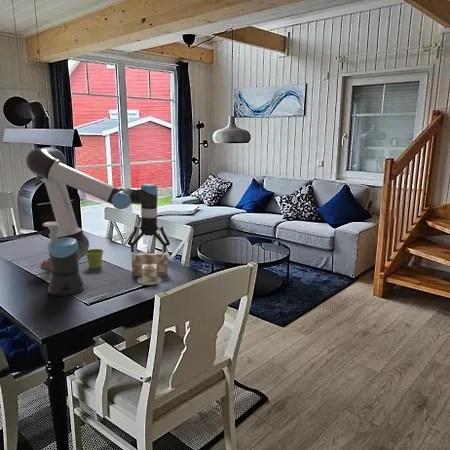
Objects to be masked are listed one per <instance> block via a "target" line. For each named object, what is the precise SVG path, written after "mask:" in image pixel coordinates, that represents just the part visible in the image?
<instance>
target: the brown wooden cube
mask: <svg viewBox="0 0 450 450" xmlns="http://www.w3.org/2000/svg"><path fill="white" fill-rule="evenodd" d="M141 277H142V282H157V264H142V276H141Z"/></svg>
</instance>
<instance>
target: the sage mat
mask: <svg viewBox="0 0 450 450" xmlns="http://www.w3.org/2000/svg"><path fill="white" fill-rule="evenodd" d="M136 281H137V283H138V284H140V285H143V286H153V285H158V284H160V283H162V281H163V280H162V277H161V276H157V282H142V276H139V277H138V278H137V279H136Z"/></svg>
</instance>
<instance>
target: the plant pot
mask: <svg viewBox="0 0 450 450" xmlns="http://www.w3.org/2000/svg"><path fill="white" fill-rule="evenodd" d="M103 254H104V249H100V248H92V249H88V251H87V252H86V254H85V255H86V257H87V262H88V263H87V264H88V267H89V268H90V269H97V268H101V267H102V258H103Z"/></svg>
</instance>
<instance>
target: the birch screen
mask: <svg viewBox="0 0 450 450" xmlns="http://www.w3.org/2000/svg"><path fill="white" fill-rule="evenodd" d="M168 257H169V256H168V253H164V257H163V260H162V253H135V260H134V253H132V254H131V277H142V264H157V276H158V277H161V276H168V272H169V271H168V264H169V263H168V262H169V261H168Z"/></svg>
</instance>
